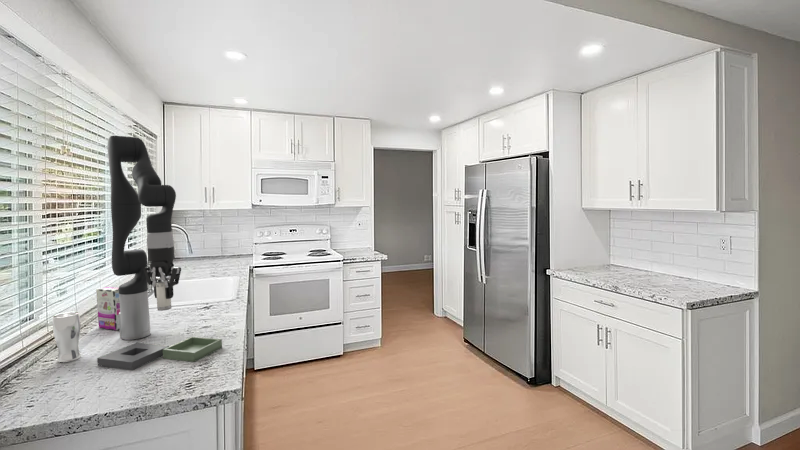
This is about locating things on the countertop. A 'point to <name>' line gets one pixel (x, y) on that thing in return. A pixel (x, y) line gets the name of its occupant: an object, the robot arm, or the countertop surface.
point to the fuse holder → (132, 356)
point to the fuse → (162, 297)
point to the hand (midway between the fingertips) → (164, 297)
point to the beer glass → (67, 335)
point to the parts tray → (192, 349)
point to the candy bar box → (108, 308)
